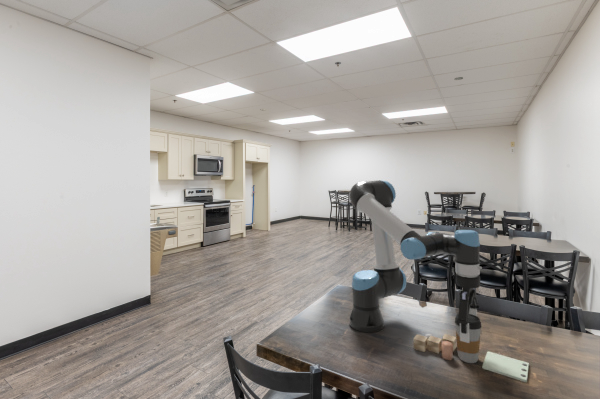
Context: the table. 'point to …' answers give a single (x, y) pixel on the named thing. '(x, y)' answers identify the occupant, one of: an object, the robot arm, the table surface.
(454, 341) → the maple cube
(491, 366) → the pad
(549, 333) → the table surface
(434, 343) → the maple cube
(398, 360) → the table surface
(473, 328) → the coffee cup
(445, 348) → the pink rounded piece
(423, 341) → the maple cube
